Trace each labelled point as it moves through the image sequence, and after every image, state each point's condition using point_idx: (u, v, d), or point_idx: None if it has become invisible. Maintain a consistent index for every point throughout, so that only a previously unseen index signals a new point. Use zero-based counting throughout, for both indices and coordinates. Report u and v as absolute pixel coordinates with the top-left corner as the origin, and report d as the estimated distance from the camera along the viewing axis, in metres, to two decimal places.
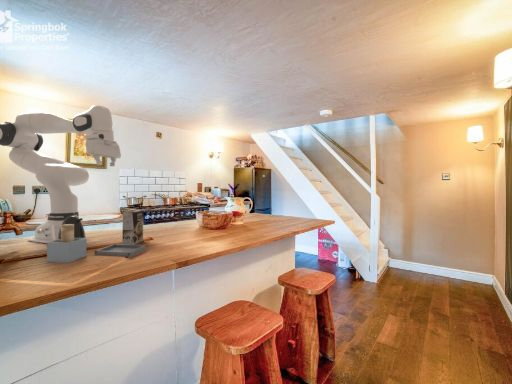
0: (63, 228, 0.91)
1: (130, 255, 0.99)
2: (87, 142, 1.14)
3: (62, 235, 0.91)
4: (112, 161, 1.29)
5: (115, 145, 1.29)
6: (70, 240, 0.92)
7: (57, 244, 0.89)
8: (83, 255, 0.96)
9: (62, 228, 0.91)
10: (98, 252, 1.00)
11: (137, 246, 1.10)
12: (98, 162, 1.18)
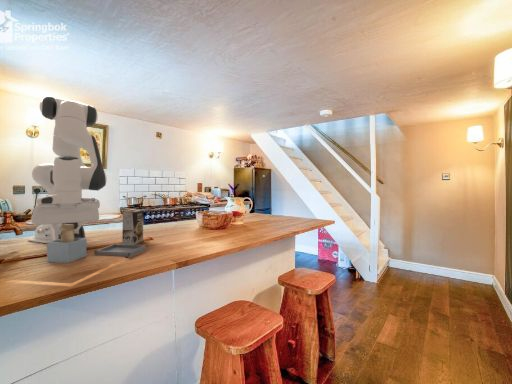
0: (63, 228, 0.91)
1: (130, 255, 0.99)
2: None
3: (62, 235, 0.91)
4: (77, 227, 0.95)
5: (87, 205, 0.95)
6: (70, 240, 0.92)
7: (57, 244, 0.89)
8: (83, 255, 0.96)
9: (62, 228, 0.91)
10: (98, 252, 1.00)
11: (137, 246, 1.10)
12: (56, 232, 0.91)
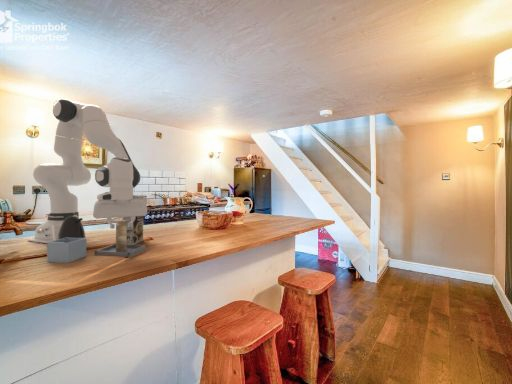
0: (118, 223, 1.03)
1: (130, 255, 0.99)
2: (95, 204, 0.99)
3: (117, 229, 1.03)
4: (131, 220, 1.07)
5: (137, 201, 1.07)
6: (124, 234, 1.04)
7: (57, 244, 0.89)
8: (83, 255, 0.96)
9: (117, 223, 1.03)
10: (98, 252, 1.00)
11: (137, 246, 1.10)
12: (110, 226, 1.02)
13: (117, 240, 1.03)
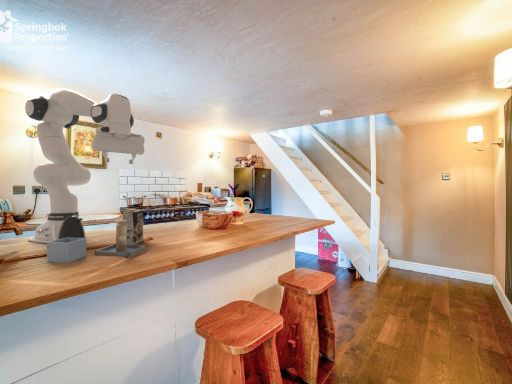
0: (118, 224, 1.03)
1: (130, 255, 0.99)
2: (93, 137, 1.03)
3: (117, 230, 1.03)
4: (132, 158, 1.12)
5: (135, 139, 1.10)
6: (124, 234, 1.04)
7: (57, 244, 0.89)
8: (83, 255, 0.96)
9: (118, 223, 1.03)
10: (98, 252, 1.00)
11: (137, 246, 1.10)
12: (105, 159, 1.05)
13: (117, 240, 1.03)
